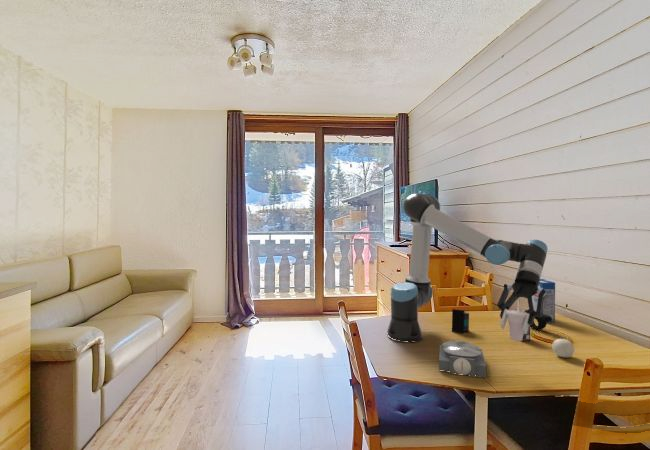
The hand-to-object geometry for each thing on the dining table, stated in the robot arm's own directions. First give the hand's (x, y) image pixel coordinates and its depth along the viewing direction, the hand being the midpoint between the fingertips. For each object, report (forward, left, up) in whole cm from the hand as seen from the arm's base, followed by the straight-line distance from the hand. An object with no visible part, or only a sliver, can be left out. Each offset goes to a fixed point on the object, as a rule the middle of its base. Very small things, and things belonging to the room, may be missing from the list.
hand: (513, 329), depth 114 cm
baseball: (+21, +21, -16) cm, 33 cm away
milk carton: (+25, +69, -16) cm, 75 cm away
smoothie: (+2, +3, -5) cm, 6 cm away
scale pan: (-16, +1, -10) cm, 19 cm away
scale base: (-16, +1, -15) cm, 23 cm away
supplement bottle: (+10, +36, -16) cm, 41 cm away
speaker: (-15, +39, -16) cm, 45 cm away
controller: (+19, +51, -16) cm, 57 cm away
